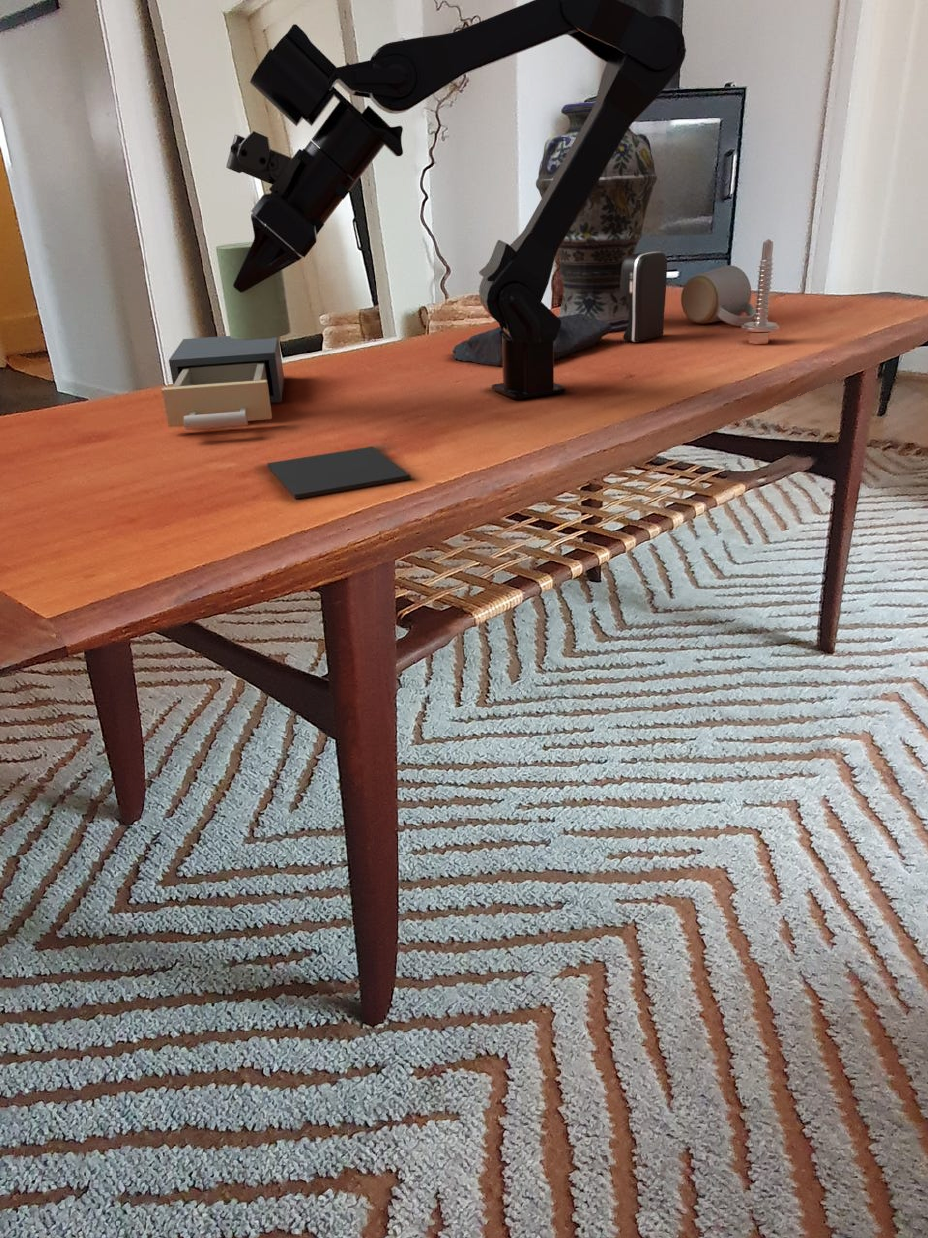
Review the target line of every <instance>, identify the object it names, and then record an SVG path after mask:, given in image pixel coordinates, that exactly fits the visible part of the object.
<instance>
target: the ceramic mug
mask: <svg viewBox="0 0 928 1238" xmlns="http://www.w3.org/2000/svg"><path fill="white" fill-rule="evenodd" d="M751 299H752V287H751V283H750V279H749V277H748V276H747V274H746V273H745V272H744V270H742V269H741V268H739V267H738V266H737V265H736V266H735V265H724V266H721V267H717V268H714V269H710V270H707V271H703V272H700V273H698V274H696V275H694V276H692V277H691V278H689V280H687V281H686V283H685V284H684V285H683V288H682V290H681V296H680V305H681V308H682V311H683V313H684V315H685V316H686V318H687V319H689V320H690V321H691V322H693V323H696V324H701V325H702V324H705V325H706V324H711V323H716V322H721V321H723V322H724V323H726V324H728V325H732V326H735V327H742V326H743V325H744V324H745V323H748V322H754V320H755V319H754V318H755V314H754V313H756V310H755V307H754V305H752V303H751ZM744 313H745V314H746V316H743V314H744Z"/></svg>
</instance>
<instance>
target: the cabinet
mask: <svg viewBox="0 0 928 1238" xmlns="http://www.w3.org/2000/svg"><path fill="white" fill-rule="evenodd" d="M260 361H265V366H266V373H267V380H268V388H269V397H270V404H275V403H278V404H279V403H282V401H283V399H282V398H283V390H284V382H285V380H284V379H285V375H284V367H283V359H282V351H281V343H280V337H275V338H268V339H259V340H237V339H232V338H231V337H230V335H224V336H223V335H222V336H208V337H207V336H206V337H194V338H183V339H182V340H181V341H180V343H179V344H178V346H177V347H176V349H175V350H174V351H173V353H172V354H171V356H170V358H169V359H168V365H169V369H170V375H171V381H172V386H173V385H174V383H175V381H176V380H177V378H178V376H179V375H180V373H181V371H182V370H183V368H184V367H191V366H205V365H219V364H233V363H246V362H260Z"/></svg>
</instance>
